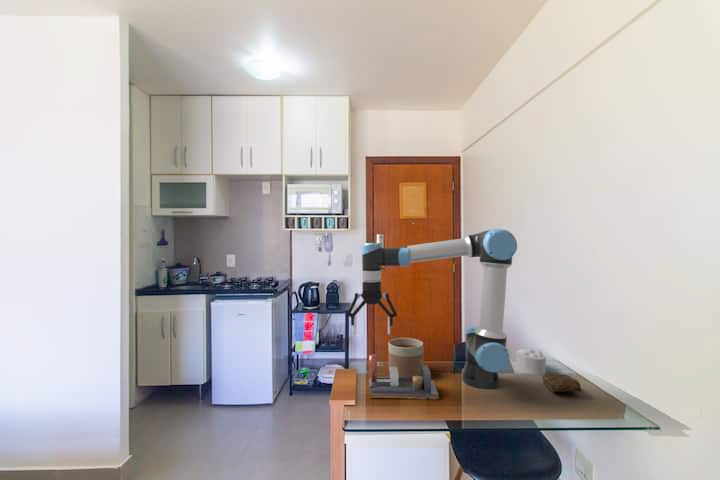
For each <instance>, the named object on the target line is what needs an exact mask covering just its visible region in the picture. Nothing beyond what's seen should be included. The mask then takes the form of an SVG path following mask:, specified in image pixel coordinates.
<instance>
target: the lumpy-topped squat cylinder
mask: <svg viewBox="0 0 720 480" xmlns="http://www.w3.org/2000/svg"><path fill="white" fill-rule="evenodd" d="M515 358H516V359H515V363H516V365H515V366H516V369H519V370H521V371H522V372H525V373H527V374H531V375H537V376H542V375H543V374H546V373H547V369H546V368H547V361H546V356H545V355H544V354H543V352H542V351H540V350H539V349H537V350H533V349H531V348H522V349H520V350H519V349H518V350H516V352H515Z"/></svg>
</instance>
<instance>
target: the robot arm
mask: <svg viewBox="0 0 720 480" xmlns="http://www.w3.org/2000/svg"><path fill="white" fill-rule="evenodd" d="M517 250H518V242H517V239H516V237H515V235H514V234H513V233H512V232H510V231H509V230H507V229H503V228H493V229H488V230H484V231H481V232H478V233H475V234H470V235H466V236H465V237H464V238H458V239H457V238H456V239H448V240H441V241H434V242H427V243H420V244H413V245H411V244H410V245H406V246H396V247H382V245H381V243H380V242H366V243H363V245H362V254H361V258H362V259H361V261H362V262H361V263H362V266H361V267H362V270H361V271H362V272H361V273H362V274H361V275H362V276H361V277H362V279H361V280H362V281H363V282H362V285H361V286H362V292H361V293H358V292H355V293H354V299H353V301H352V302H351V304H350V306H349V308H348V311H347V313H346V316H347V317H350V325H351V326H352V327H353V334H354V335H356V334H357V316H356V315H357V314H358V313H359V312H360V310H362V308H364V306H365V305H377V304H378V305H379V306H380V308H381V309H382V310H383V312H385V314H386V315H387V335H388V336H389V335H390V334H391V328H390V327H392V326H393V323H394V321H393V318H395V317H398V313H397V311H396V309H395V307H394V305H393V304H392V301H391V299H390V294H389V292H386V293H382V282H381V281H382V267H401V268H403V267H409V266H411V264H412V263H419V262H428V261H435V260H442V259H450V258H459V257H468V258H469V259H470V258H479V263H480V265H481V266H482V270H483V271H482V280H481V281H482V282H481V283H482V284H481V294H480V295H481V296H480V298H481V299H480V310H479V321H478V322H479V325H478V326H468V327H466V328H465V333H464V335H465V364H464V366H463V371H462V372H461V380H462V382H463V383H464V384H466V385H469V386H471V387H474V388H477V389H478V388H479V389H494V388H497V387H499V386H500V376H499V373H498V372H501V371H502V370H504V369H505V368H507V366H508V365H509V362H510V353H509V350H508V348H507V334H506V333H505V332H504V331H503V330H504V320H505V319H504V318H505V303H506V290H507V289H506V288H507V276H508V275H507V274H508V269H509V268H510V267H511V266H512V265H513V256H514V255H515V254H516V252H517ZM360 298H362V299H363V300H362V301H361V302H360V304H359V305H358V306H357V308H355V310H354V311H353V309H354V307H355V305H356V303H357V301H358V299H359V300H360ZM382 298H384V299H385V300H386V302H387V303H388V306H389V308H390V310H391V311H392V312H391V311H390V310H389V309H388V307H387V306H386V305H385V304H384V303H383V301H381V299H382ZM352 311H353V312H352Z"/></svg>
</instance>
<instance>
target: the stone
mask: <svg viewBox="0 0 720 480" xmlns="http://www.w3.org/2000/svg"><path fill="white" fill-rule="evenodd" d="M541 377H542V382H543V384H544V385H545V386H546V387H547V388H548V389H549V390H550V391H551V392H552V393H555V392H557V393H559V392H563V393H565V392H575V393H577V392H581V391H582V388H581V384H580V381H578V380H577V379H576V378H573V377H572V376H570V375H567V374H563V373H555V372H546V374H543V375H541Z"/></svg>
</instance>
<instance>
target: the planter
mask: <svg viewBox="0 0 720 480" xmlns="http://www.w3.org/2000/svg"><path fill="white" fill-rule="evenodd" d="M387 345H388V371H389V373H390V367H397V370H398V377H411V378H412V379H413V376H421V365H424V342H423V341H421V340H419V339H416V338H413V337H412V338H410V337H398V338H393V339H391V340H389V341H388V344H387Z"/></svg>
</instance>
